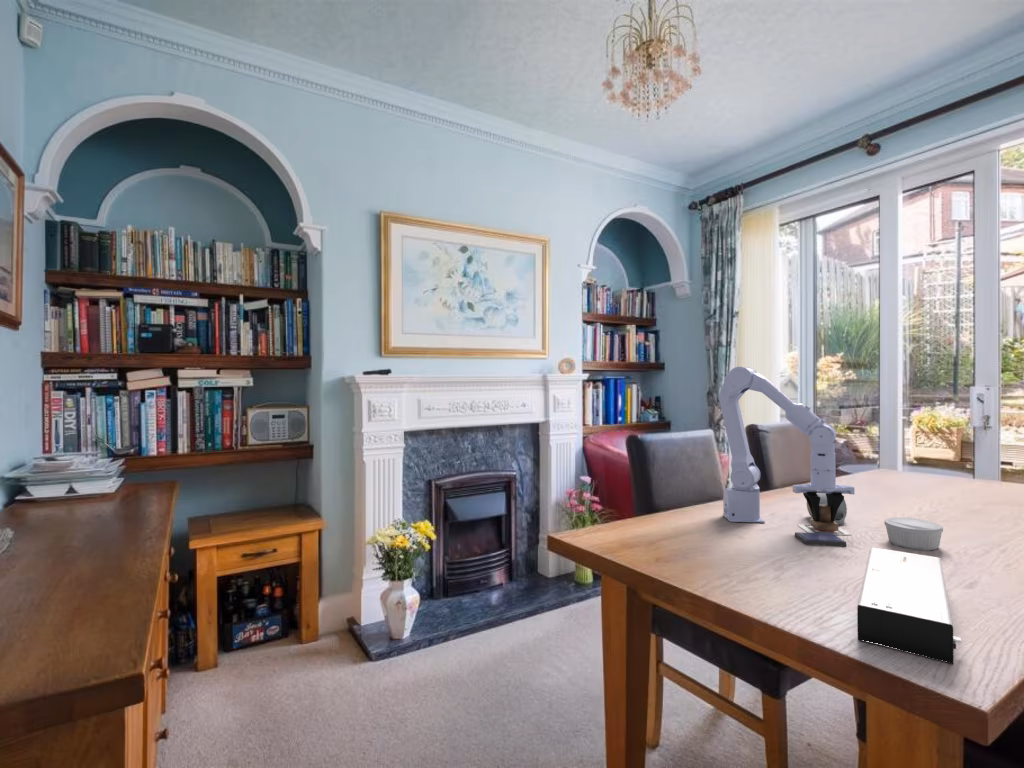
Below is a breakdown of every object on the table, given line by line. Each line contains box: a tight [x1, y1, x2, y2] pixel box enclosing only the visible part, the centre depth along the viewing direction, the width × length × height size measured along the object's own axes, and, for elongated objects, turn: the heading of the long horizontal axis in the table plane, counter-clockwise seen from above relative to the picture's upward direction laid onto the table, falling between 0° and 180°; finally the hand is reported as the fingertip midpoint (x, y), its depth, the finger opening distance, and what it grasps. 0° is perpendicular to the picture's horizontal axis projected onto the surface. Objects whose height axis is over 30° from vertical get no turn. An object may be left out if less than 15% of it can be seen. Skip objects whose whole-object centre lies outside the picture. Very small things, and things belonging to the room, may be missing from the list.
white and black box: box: [856, 546, 962, 665], centre depth 88 cm, size 34×12×6 cm, turn 142°
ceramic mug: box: [806, 493, 848, 526], centre depth 146 cm, size 11×8×8 cm
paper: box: [797, 524, 852, 536], centre depth 136 cm, size 10×8×1 cm
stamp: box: [809, 504, 839, 531], centre depth 136 cm, size 5×5×6 cm
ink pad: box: [794, 531, 847, 547], centre depth 127 cm, size 9×7×1 cm
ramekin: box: [884, 516, 944, 551], centre depth 124 cm, size 11×11×5 cm
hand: (823, 520), depth 136 cm, fingers closed on stamp, 3 cm apart
